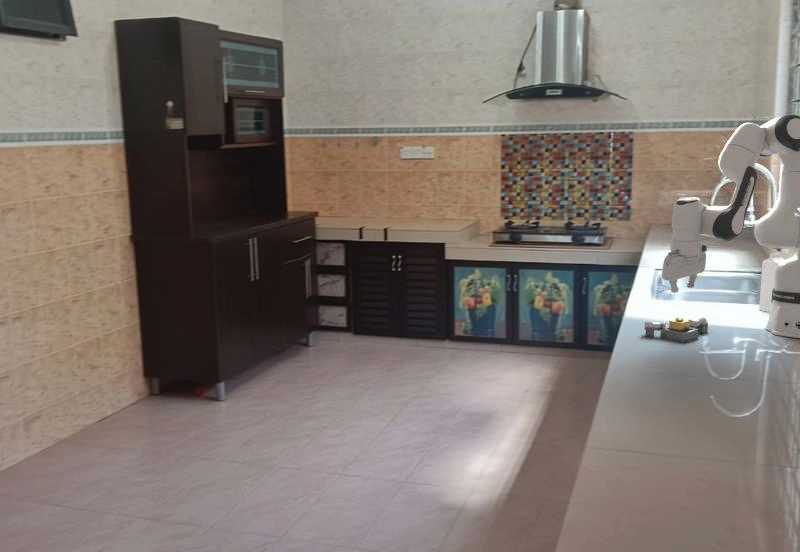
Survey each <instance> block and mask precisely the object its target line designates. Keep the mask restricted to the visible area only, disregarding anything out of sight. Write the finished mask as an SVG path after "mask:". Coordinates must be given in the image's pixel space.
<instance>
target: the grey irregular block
mask: <svg viewBox="0 0 800 552" xmlns="http://www.w3.org/2000/svg"><path fill="white" fill-rule="evenodd" d="M707 320H708V319H706V318H705V317H701V318H697V319H688V321H689V328H694V329H698V334H705V333H708V330H709V329H708V328H709V322H708V321H707Z"/></svg>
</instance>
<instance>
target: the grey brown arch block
mask: <svg viewBox="0 0 800 552" xmlns="http://www.w3.org/2000/svg"><path fill="white" fill-rule="evenodd" d="M665 327H667V325H666V321H662V322H652V321H651V322H647V321H644V331H645V338H654V337H655V331H659V332H661V329H665Z"/></svg>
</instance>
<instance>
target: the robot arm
mask: <svg viewBox="0 0 800 552" xmlns="http://www.w3.org/2000/svg"><path fill="white" fill-rule="evenodd" d="M772 155H778V157H779V160H780V171H779V172H780V173H779V188H778V195H777V199H776V202H775V203H774V205H773V206H772V208H771V210H770V211H769V212H767V214H765V215H764V216H761V218H760V219H758V221H757V222H756V224H755V225H754V228H753V235H754V239H755V241H756V242H757V244H759V246H762V247H767V248H772V249H783V250H784V249H790V250H791V249H792V250H796V251H795V253H794V254H793V256H791V257H789V258H786V259H784V260H783V261H782V262H780V263H779V264H778V265H777V266H776V269H775V280H774V288H773V289H772V299H771V303H772V307H771V312H770V313H769V317H768V321H767V323H766V326H765V330H767V331H768V332H770V333H771V334H772V335H775V336H781V337H789V338H795V339H800V215H796V210H797V209H799V208H800V115H798V114H787V115H783V116H781V117H778V118H773V119H771V120H769V121H768V122H765V123H764V124H762V125H759V124H757V123H753V122H745V123H742V124H741V125H740V126H739V127H737V128H736V130H735V131H734V133H733V134H732V135H731V136H730V138H729V140H728V141H727V142H726V144H725V146H724V148H723V149H722V151H721V153H720V155H719V158H718V163H717V164H718V167H719V170H720V172H721V173H722V175H724V177H726V179H728V180H729V181H732V182H734V183H735V184H736V185H735V189H734V192H733V195H732V197H731V200H730V204H729V205H727V206H726V207H716V206H709V205H707V204H705V203H702V201H701V199H700V198H699V197H695V196H687V197H685V196H684V197H682V198H681V197H680V198H678V199H677V200H676V201H675V203H674V205H673V211H672V215H671V216H672V217H671V229H672V234H671V237H670V251H668V253H667V255H666V256H665V258H664V260H663V264H662V269H661V270H662V272H661V276H662V279H663V280H664V281H668V283H669V285H670V292H671V293H674V294H675V293H678V292H679V286H678V280H680V279H683V278H686V277H689V279H688V281H687V282H686V287H687V288H689V289H693V288H694V287H695V282H696V280H697V278H698V274H702V273H704V271H705V269H706V263H707V251H708V245H707V244H705V243H702V242H701V237H700V236H704V237H708V238H716V239H719V240H723V241H727V242H729V241H733V240H735V239H736V238H737V237H738V236H740V235H741V234H742V233H743V230H744V227H745V220H746V216H747V212H748V209H749V206H750V203H751V200H752V197H753V194H754V191H755V188H756V184H757V180H758V172H757V170H756V169H755V166H756V163H757V161H758V159H759V157H770V156H772Z"/></svg>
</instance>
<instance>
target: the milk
mask: <svg viewBox="0 0 800 552" xmlns="http://www.w3.org/2000/svg"><path fill="white" fill-rule="evenodd" d="M781 254H782V253H781V252H780V251H779V252H771V253H770V254H769V257H768V258H766V259H764V260H762V265H761V278H760V279H761V280H760V293H759V294H760V295H759V305H758V306H759V308H758V310H759V311H760V310H762V311H761V312H765V311H766V313H769V312H771V307H772V303H771V299H772V289H773V288H774V280H775V269H776V266H777V265H778V264H779V263H780V262H782V261H783V260H785V259H784V257H782V256H781Z"/></svg>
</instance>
